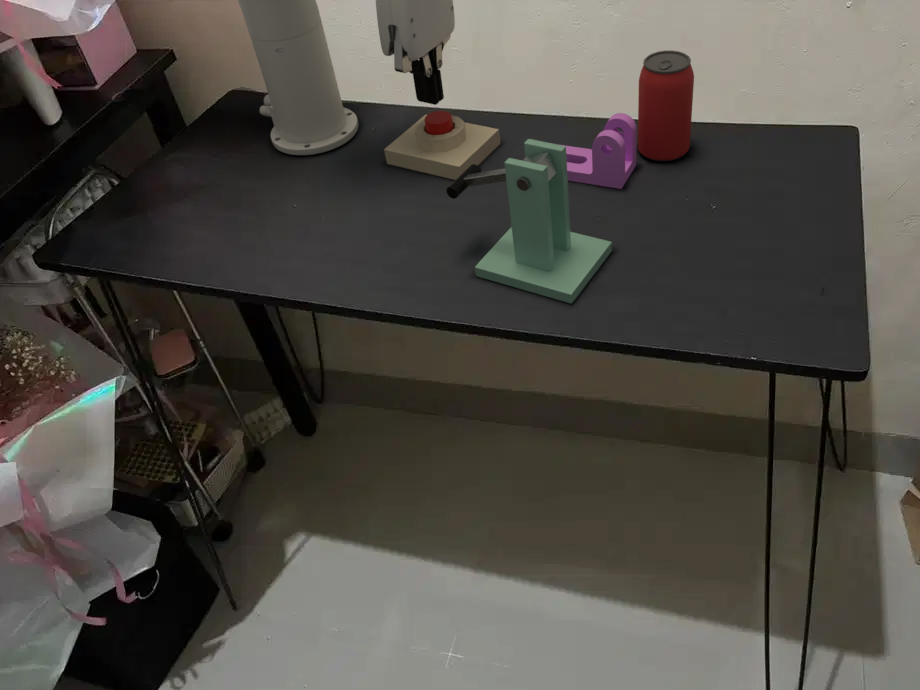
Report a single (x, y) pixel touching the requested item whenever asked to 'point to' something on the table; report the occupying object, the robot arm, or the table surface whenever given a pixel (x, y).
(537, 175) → the bracket
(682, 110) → the beer can
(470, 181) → the lever
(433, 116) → the button
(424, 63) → the robot arm
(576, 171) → the bracket
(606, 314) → the table surface
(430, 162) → the control block
